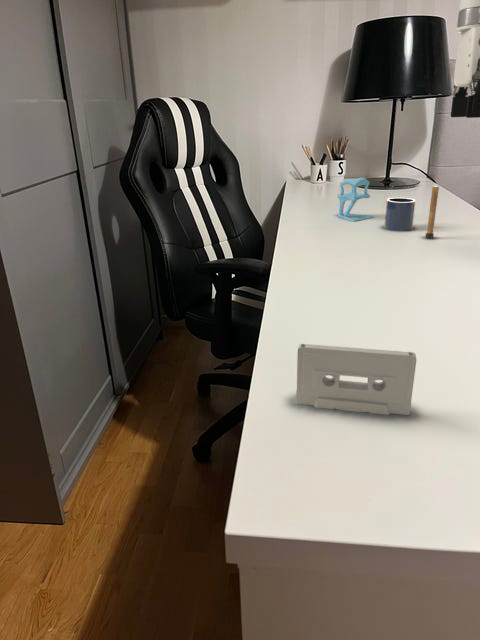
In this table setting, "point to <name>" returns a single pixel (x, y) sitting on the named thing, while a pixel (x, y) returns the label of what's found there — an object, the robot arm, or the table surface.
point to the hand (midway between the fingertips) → (466, 117)
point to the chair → (352, 197)
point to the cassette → (359, 363)
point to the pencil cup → (399, 214)
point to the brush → (432, 212)
